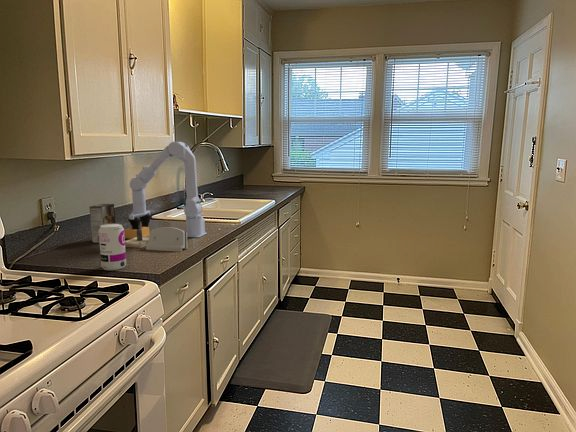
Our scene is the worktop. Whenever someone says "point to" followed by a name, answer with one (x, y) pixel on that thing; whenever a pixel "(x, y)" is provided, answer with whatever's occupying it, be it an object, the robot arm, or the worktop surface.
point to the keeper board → (137, 240)
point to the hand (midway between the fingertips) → (141, 232)
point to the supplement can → (112, 246)
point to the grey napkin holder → (167, 239)
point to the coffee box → (101, 218)
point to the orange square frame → (132, 232)
